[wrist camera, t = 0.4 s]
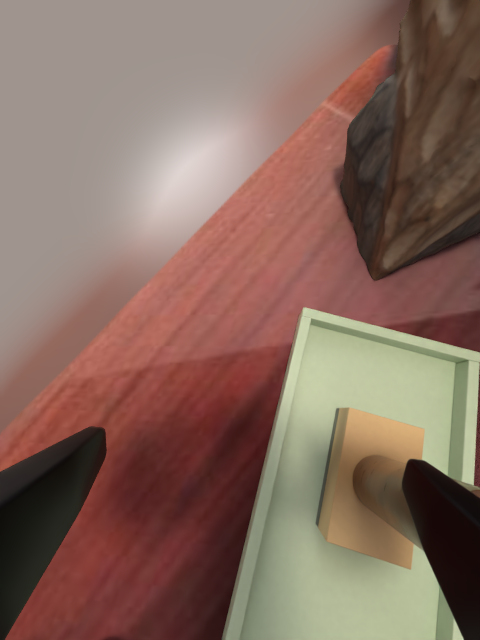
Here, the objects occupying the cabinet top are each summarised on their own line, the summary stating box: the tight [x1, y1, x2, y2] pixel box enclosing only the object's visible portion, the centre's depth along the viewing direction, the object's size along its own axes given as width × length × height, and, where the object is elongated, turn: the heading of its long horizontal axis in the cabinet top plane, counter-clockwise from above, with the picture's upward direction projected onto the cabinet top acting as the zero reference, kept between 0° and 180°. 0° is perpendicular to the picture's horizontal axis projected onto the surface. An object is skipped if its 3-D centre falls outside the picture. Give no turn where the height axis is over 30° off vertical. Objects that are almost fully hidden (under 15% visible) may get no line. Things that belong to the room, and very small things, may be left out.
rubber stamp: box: [315, 407, 480, 570], centre depth 16 cm, size 8×5×12 cm, turn 164°
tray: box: [222, 307, 480, 640], centre depth 20 cm, size 26×14×2 cm, turn 164°
